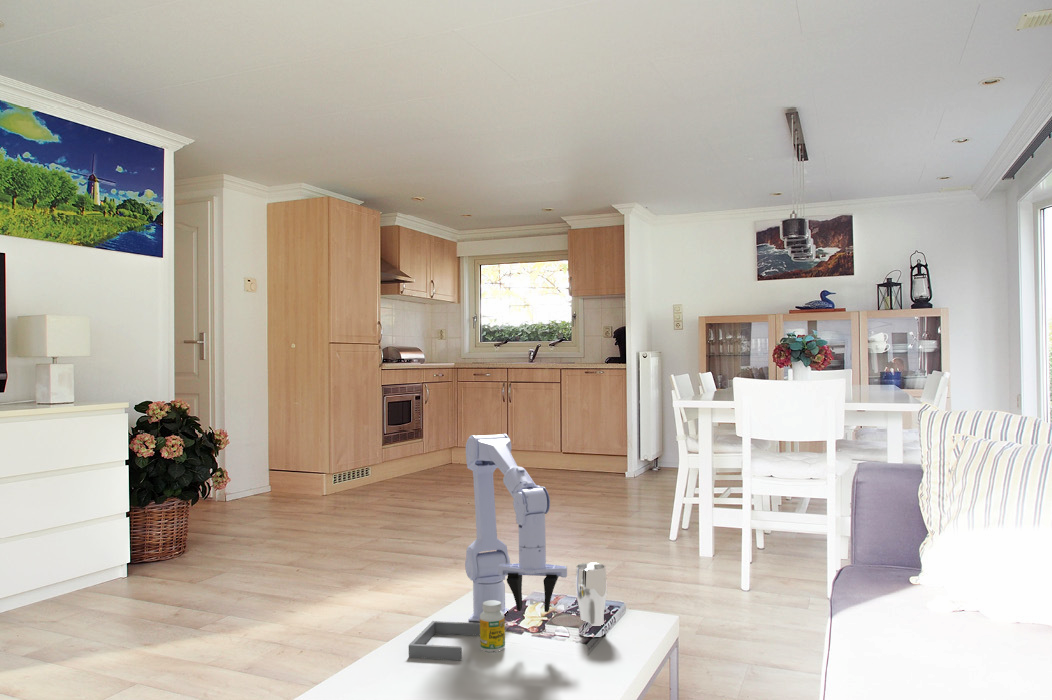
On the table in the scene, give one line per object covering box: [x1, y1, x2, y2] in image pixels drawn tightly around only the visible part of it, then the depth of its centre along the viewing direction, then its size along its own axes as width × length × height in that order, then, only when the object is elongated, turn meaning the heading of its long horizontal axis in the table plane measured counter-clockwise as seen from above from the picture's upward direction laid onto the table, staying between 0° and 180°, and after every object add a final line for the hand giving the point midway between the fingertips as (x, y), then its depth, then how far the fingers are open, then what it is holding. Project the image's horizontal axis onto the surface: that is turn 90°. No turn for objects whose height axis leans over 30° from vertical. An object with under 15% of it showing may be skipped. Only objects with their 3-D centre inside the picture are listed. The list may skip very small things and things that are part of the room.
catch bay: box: [408, 620, 480, 661], centre depth 161 cm, size 16×11×2 cm
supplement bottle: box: [479, 600, 506, 653], centre depth 159 cm, size 5×5×10 cm
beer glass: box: [575, 562, 608, 626], centre depth 167 cm, size 7×7×15 cm
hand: (533, 610), depth 157 cm, fingers open, 5 cm apart
